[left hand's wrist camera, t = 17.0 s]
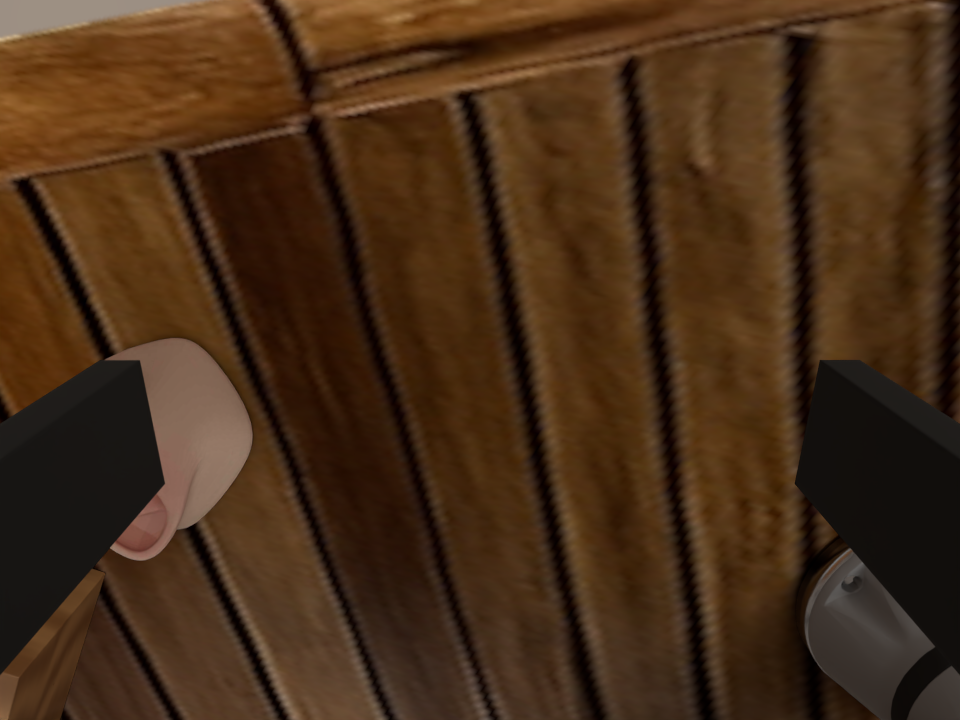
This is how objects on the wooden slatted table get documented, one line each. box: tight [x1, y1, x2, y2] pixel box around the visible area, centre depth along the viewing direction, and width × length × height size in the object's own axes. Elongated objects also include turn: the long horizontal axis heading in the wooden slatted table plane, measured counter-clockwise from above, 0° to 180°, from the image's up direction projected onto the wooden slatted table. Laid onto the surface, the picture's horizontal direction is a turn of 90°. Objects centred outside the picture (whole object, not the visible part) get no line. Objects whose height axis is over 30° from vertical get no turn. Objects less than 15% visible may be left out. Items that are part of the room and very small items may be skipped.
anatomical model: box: [105, 338, 253, 560], centre depth 39 cm, size 13×4×12 cm
